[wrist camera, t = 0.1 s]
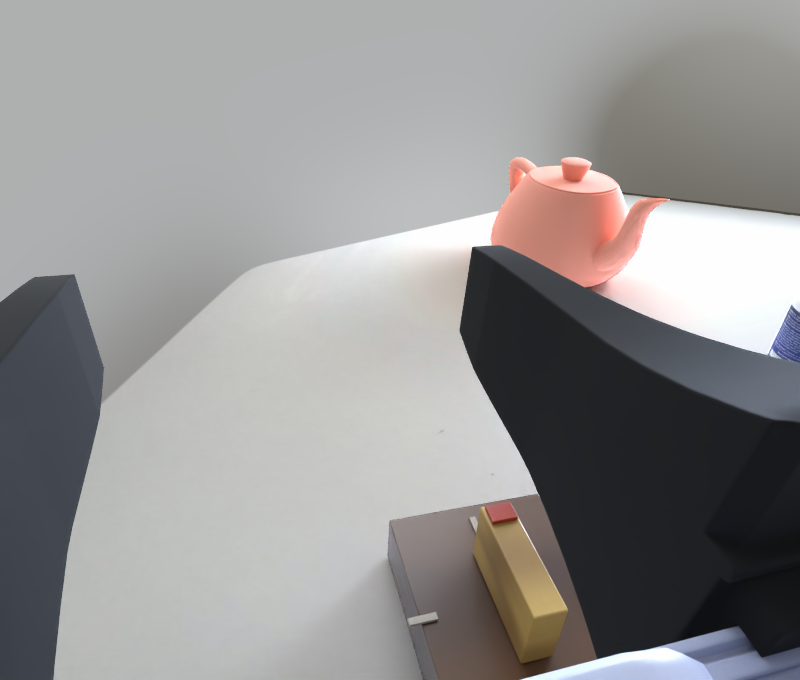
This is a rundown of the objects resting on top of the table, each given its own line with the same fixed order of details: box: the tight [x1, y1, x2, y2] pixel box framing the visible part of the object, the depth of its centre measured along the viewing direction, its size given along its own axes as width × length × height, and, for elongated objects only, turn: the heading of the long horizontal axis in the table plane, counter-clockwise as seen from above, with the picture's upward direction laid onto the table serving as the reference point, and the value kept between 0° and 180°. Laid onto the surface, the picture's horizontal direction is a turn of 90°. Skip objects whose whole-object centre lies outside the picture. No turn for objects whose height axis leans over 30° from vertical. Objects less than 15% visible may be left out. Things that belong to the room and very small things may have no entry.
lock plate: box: [388, 494, 597, 680], centre depth 29 cm, size 12×10×3 cm
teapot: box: [491, 157, 669, 287], centre depth 64 cm, size 22×15×12 cm
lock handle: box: [473, 502, 568, 663], centre depth 27 cm, size 6×2×4 cm, turn 15°
